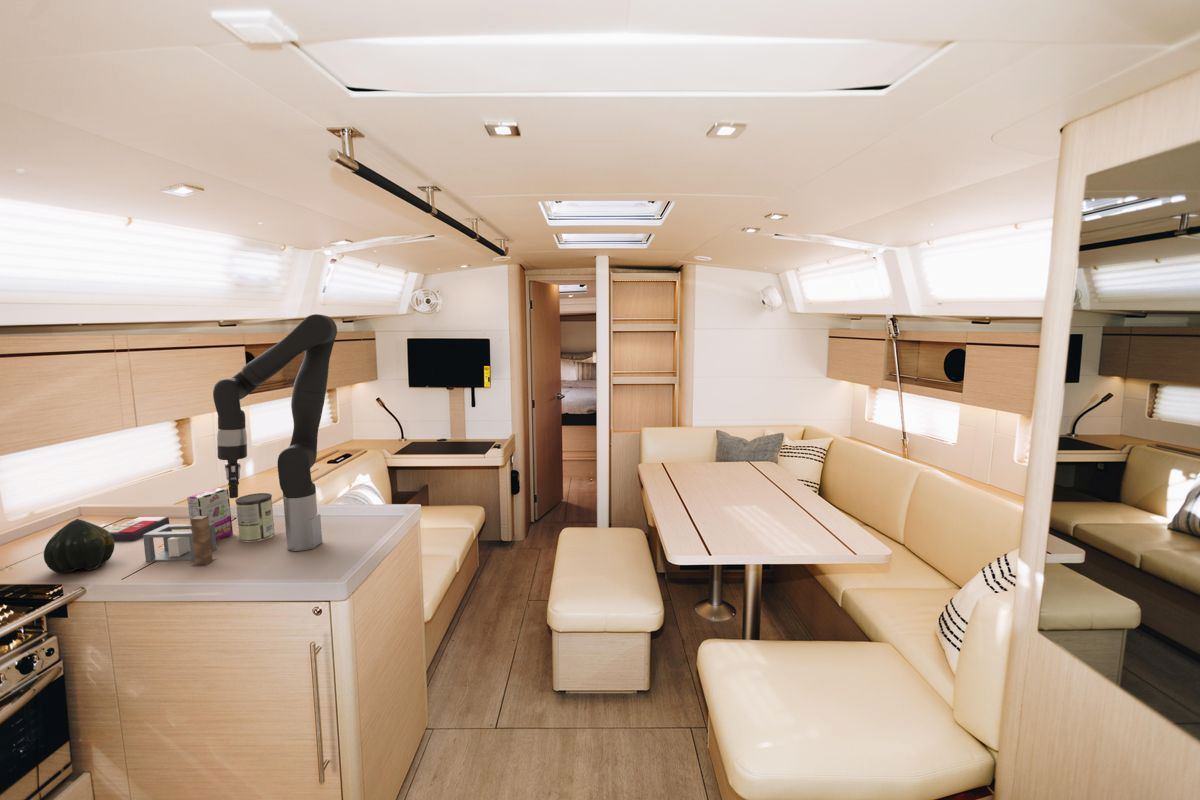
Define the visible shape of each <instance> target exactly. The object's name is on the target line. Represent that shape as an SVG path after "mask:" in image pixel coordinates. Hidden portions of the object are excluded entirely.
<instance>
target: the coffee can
mask: <svg viewBox="0 0 1200 800" xmlns="http://www.w3.org/2000/svg"><path fill="white" fill-rule="evenodd" d="M272 497H273V496H272V494H271V493H268V492H267V493H266V492H261V493H260V492H259V493H251V494H247V495H243V496H240V497H239V496H238V497H237V498H235V506H236V514H237V517H236V518H237V525H238V533H239V535H238V537H239V541H240V542H242V543H251V542H252V543H253V542H254V543H255V542H260V541H264V540H267V539H270V538H271V539H272V538H273V537H274V536H275V535H276V533H275V524H274V514H273V500H272Z"/></svg>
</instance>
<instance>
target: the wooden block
mask: <svg viewBox="0 0 1200 800" xmlns="http://www.w3.org/2000/svg"><path fill="white" fill-rule="evenodd" d="M191 525H192V535H193V546H194V556H195V560H194V564H195V565H206V564H208V563H209V562H211V561H213V559H214V558H213V551H212V549H211V538H210V528H209V517H208V516H197V517H195V518H192V519H191Z"/></svg>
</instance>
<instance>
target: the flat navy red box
mask: <svg viewBox="0 0 1200 800" xmlns="http://www.w3.org/2000/svg"><path fill="white" fill-rule="evenodd" d="M166 524H170V517H167V516H139V517H137V518H134V519H132V520H128V521H126V522H123V523H122V524H121V523H120V524H119V525H117V526H115V527H112V528H110V529H106V530H107V531H108V532H110V533H111V535H112V536H113V538H114V541H115V542H136V541H138V540H141V539H142V538H143V534H146V533H148V532H150V531H152V530H155V529H157V528H159V527H161V526H164V525H166Z"/></svg>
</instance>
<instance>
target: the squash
mask: <svg viewBox="0 0 1200 800" xmlns="http://www.w3.org/2000/svg"><path fill="white" fill-rule="evenodd" d="M107 530H108V529H105V528H103V527H101V526H99V525H97V524H94V523H91V522H88V521H86V520H84V519H83V520H82V519H80V518H76V519H74V520H72V521H70V522H69V523H67V524H66V525H64V526H63V527H62V528H61V529H59V530H58V531H57V532H56V533H54V535H53V536H51V538H50V539H49V540H48V542H47V543H46V545H45V547H44V550H43V560H44V563H45V564H46V566H47V567H48V568H49V570H51V571H53V572H55V573H59V574H65V573H66V574H67V573H71V572H73V571H75V570H81V569H82V568H84V570H90V571H91V570H94V569H96V568H98V567H99V566H100V565H103V564H105V563H106V562H108V561H109V560H110V559H111V557H112V555H113V553H114V551H115V544H116V541H114V538H113V536H112V535H111V533H110V532H108V531H107Z"/></svg>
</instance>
